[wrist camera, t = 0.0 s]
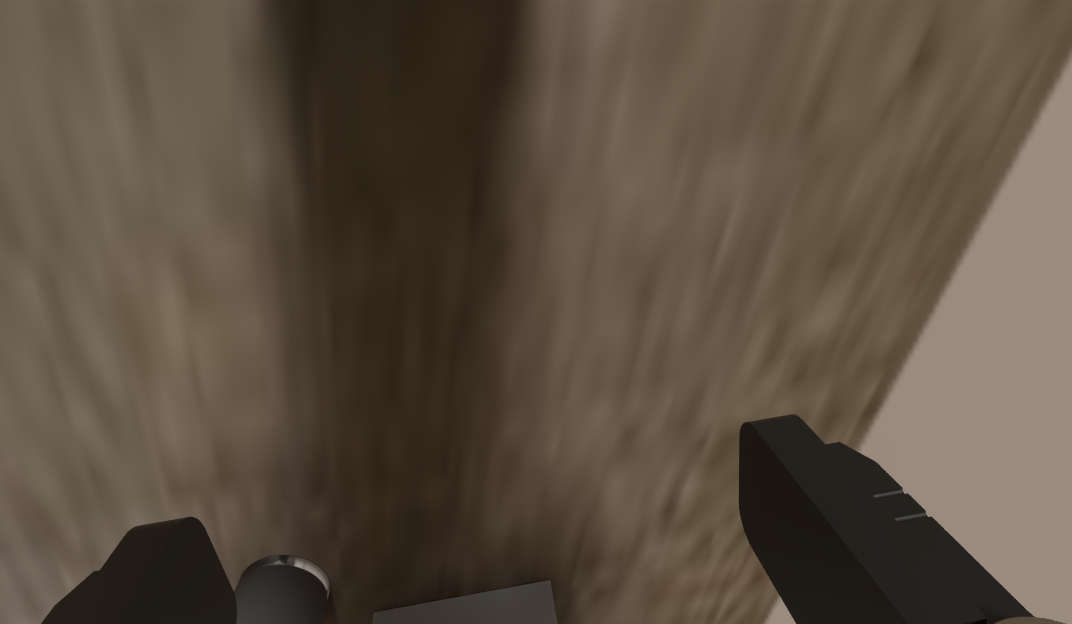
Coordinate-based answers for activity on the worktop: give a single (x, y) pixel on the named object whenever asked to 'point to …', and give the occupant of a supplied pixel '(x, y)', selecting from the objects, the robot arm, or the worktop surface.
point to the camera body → (481, 608)
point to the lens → (282, 592)
